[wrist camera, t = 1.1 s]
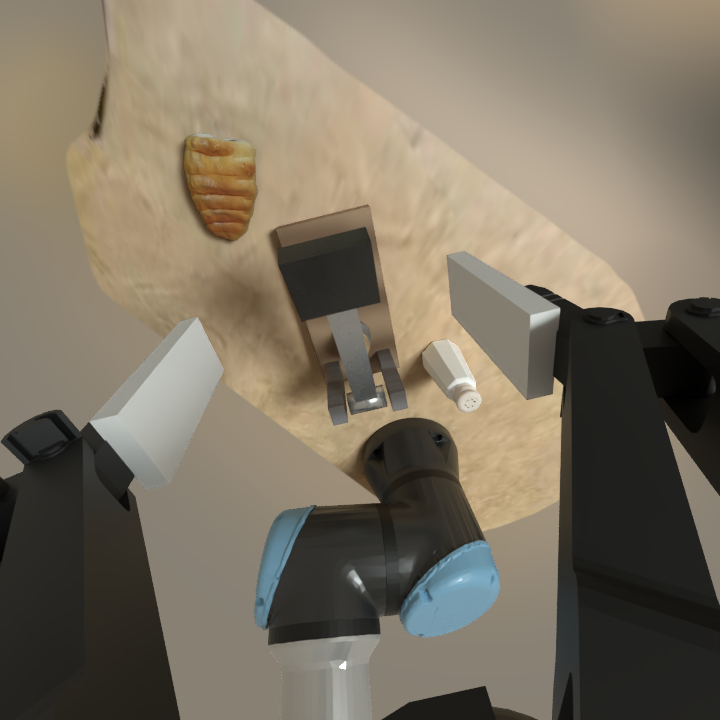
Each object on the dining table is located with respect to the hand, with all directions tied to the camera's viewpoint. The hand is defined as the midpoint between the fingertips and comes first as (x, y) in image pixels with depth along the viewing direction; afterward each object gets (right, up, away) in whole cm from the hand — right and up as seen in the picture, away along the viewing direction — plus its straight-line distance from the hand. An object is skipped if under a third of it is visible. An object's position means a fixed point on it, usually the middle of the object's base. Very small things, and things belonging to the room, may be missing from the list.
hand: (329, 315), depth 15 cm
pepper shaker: (+12, -1, +32) cm, 35 cm away
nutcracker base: (-1, +5, +27) cm, 28 cm away
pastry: (-12, +16, +20) cm, 29 cm away
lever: (0, 0, +16) cm, 16 cm away
